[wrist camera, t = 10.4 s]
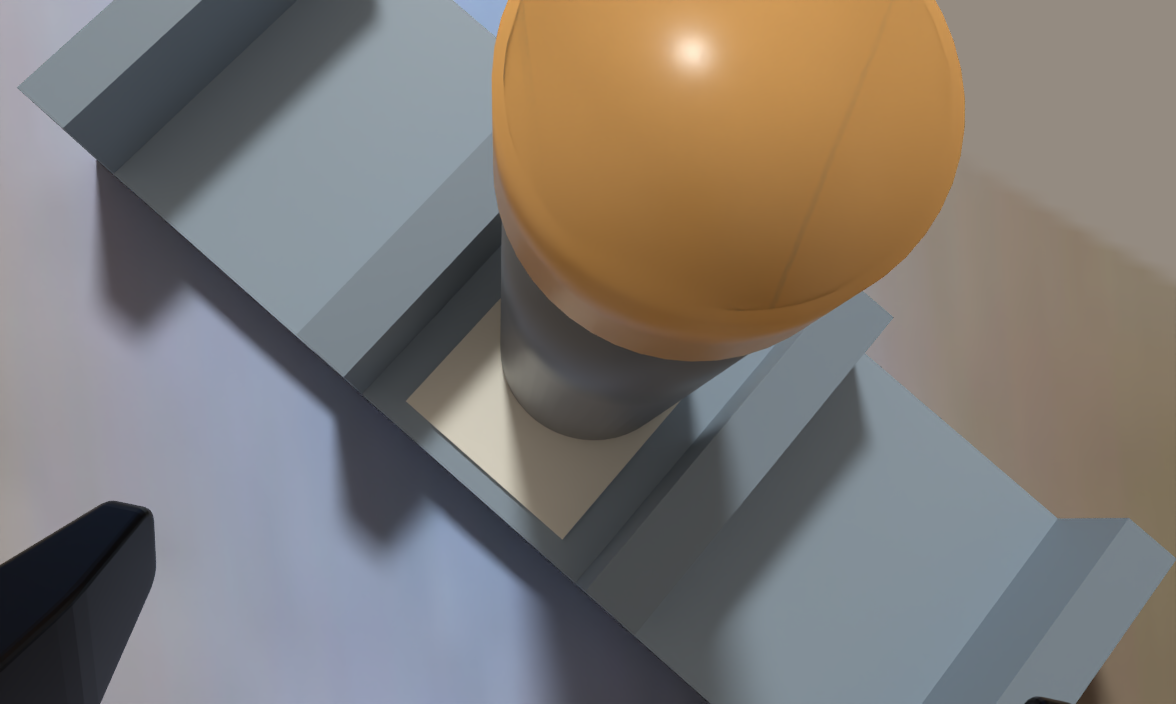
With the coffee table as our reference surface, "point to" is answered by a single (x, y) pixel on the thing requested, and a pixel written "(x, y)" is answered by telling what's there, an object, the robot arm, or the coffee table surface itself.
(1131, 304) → the coffee table surface
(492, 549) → the coffee table surface
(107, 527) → the robot arm
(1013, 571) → the grey divided tray
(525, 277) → the grey cylinder
